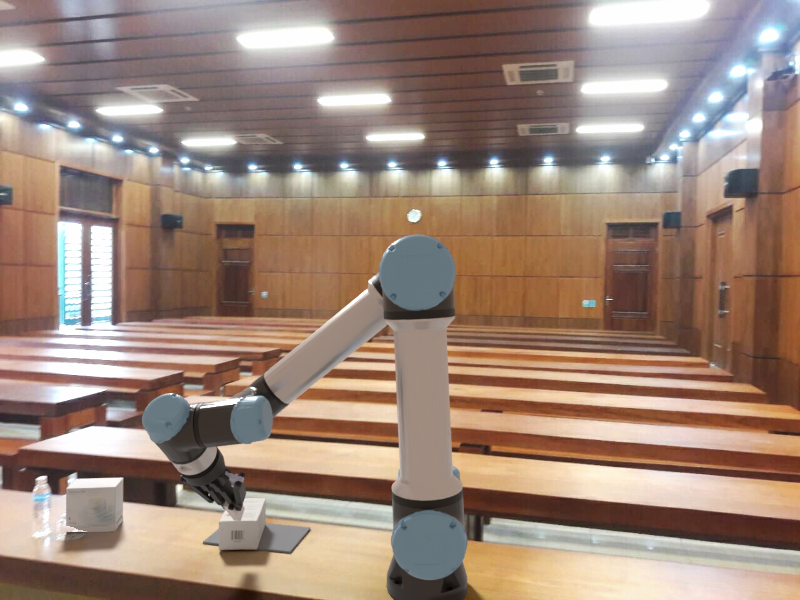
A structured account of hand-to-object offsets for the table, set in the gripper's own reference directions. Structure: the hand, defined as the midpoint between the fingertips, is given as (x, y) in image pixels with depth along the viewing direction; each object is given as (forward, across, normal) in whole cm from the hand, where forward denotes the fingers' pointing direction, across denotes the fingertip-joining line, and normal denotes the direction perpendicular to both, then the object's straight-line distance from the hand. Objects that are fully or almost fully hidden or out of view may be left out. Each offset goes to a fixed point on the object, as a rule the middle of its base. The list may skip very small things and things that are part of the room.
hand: (239, 514), depth 121 cm
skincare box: (+10, -38, -3) cm, 39 cm away
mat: (+13, 0, 0) cm, 13 cm away
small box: (+4, -1, -3) cm, 5 cm away
